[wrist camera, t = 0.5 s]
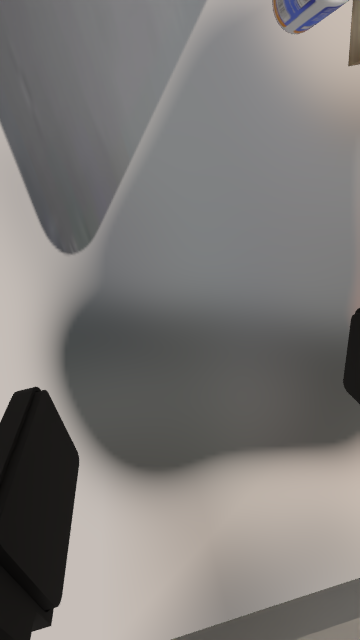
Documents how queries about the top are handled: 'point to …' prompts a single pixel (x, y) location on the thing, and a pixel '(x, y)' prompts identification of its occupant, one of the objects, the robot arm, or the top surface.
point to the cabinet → (355, 35)
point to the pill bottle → (303, 13)
